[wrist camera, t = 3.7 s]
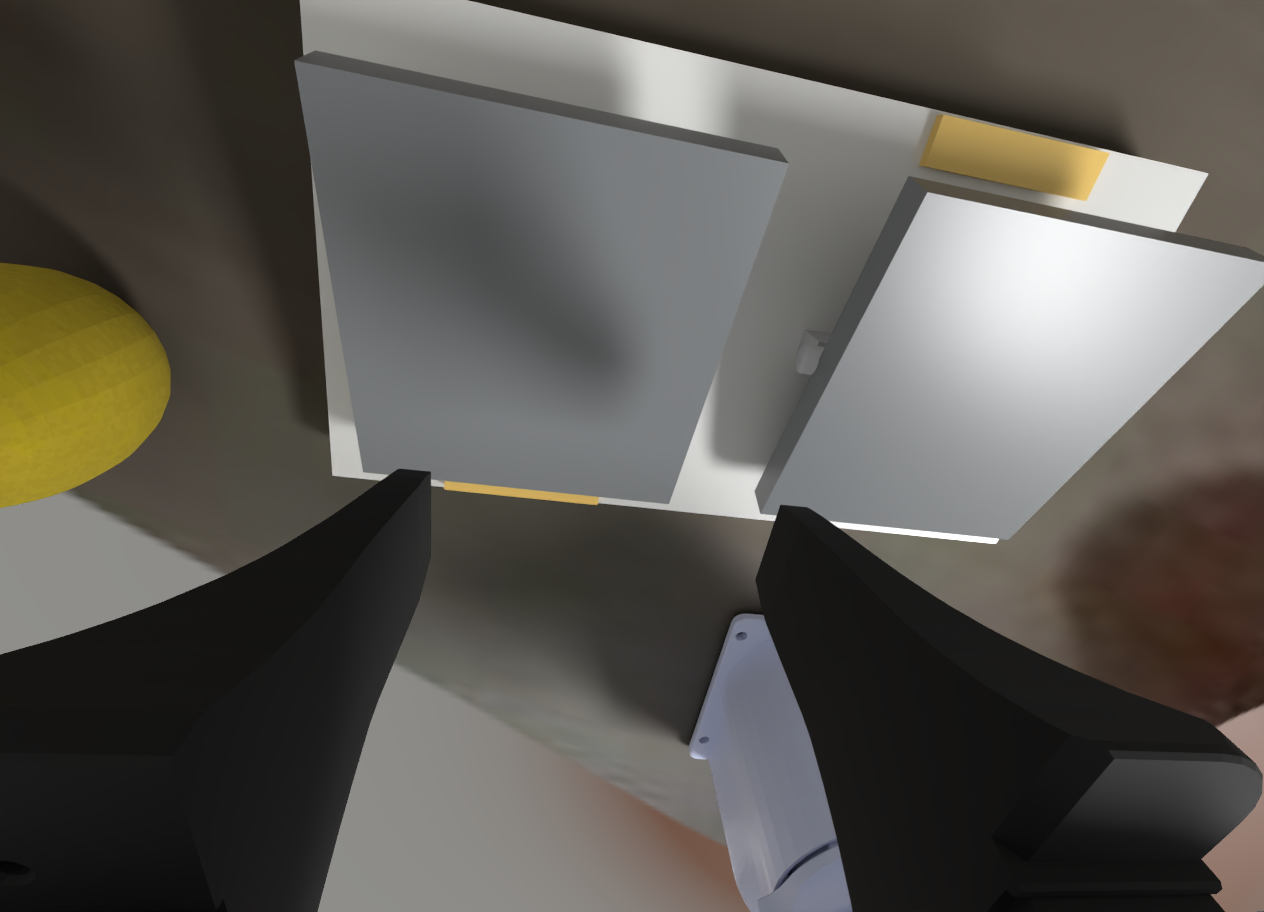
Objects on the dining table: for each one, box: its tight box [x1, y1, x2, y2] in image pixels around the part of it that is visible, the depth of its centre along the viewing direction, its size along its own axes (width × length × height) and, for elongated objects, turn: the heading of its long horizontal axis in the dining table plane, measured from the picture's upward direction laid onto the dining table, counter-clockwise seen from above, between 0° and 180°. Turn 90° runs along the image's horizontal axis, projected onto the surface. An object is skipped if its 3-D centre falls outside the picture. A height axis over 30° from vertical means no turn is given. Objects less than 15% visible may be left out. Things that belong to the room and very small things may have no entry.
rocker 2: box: [754, 176, 1264, 540], centre depth 16 cm, size 10×10×2 cm
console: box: [300, 0, 1208, 544], centre depth 18 cm, size 13×24×3 cm, turn 80°
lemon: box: [0, 263, 171, 508], centre depth 14 cm, size 6×6×8 cm
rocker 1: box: [294, 50, 789, 504], centre depth 15 cm, size 10×10×2 cm
